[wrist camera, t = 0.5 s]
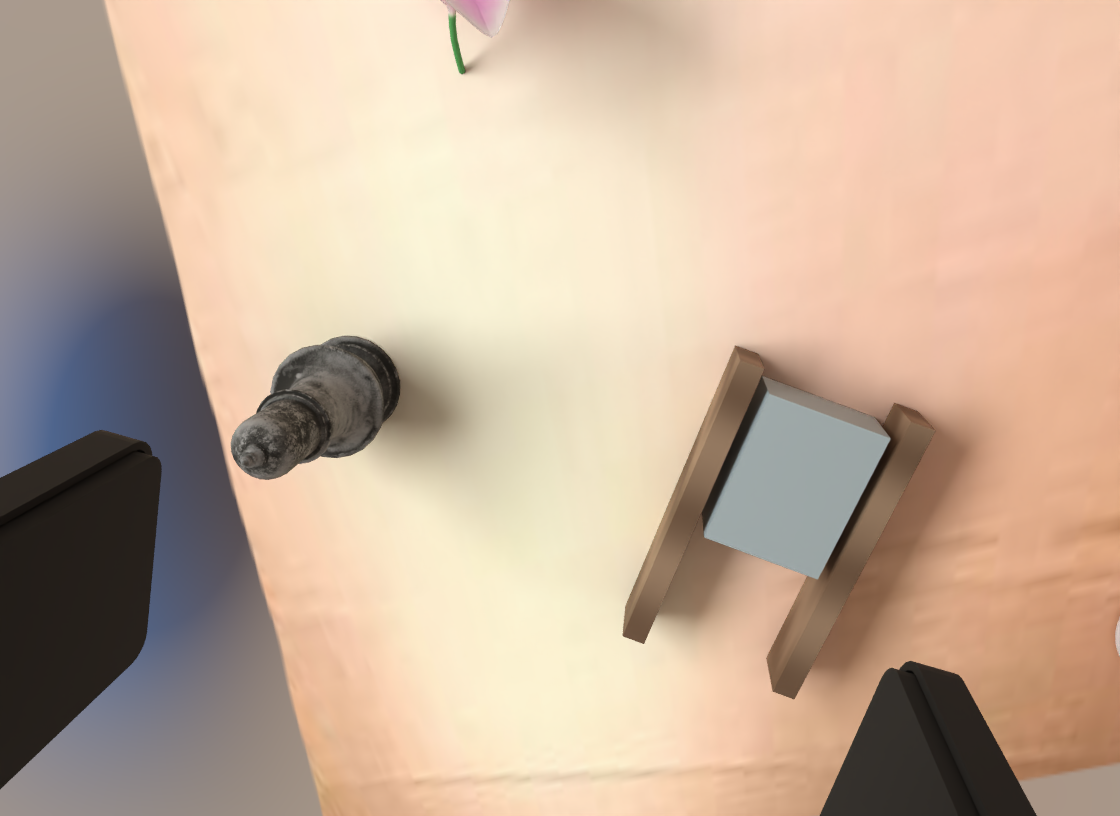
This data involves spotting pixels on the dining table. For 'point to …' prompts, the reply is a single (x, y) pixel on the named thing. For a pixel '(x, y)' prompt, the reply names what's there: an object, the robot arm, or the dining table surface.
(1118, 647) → the supplement bottle
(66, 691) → the robot arm
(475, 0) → the lily
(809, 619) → the walnut chute
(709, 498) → the slate block
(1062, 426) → the dining table surface
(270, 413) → the salt shaker
